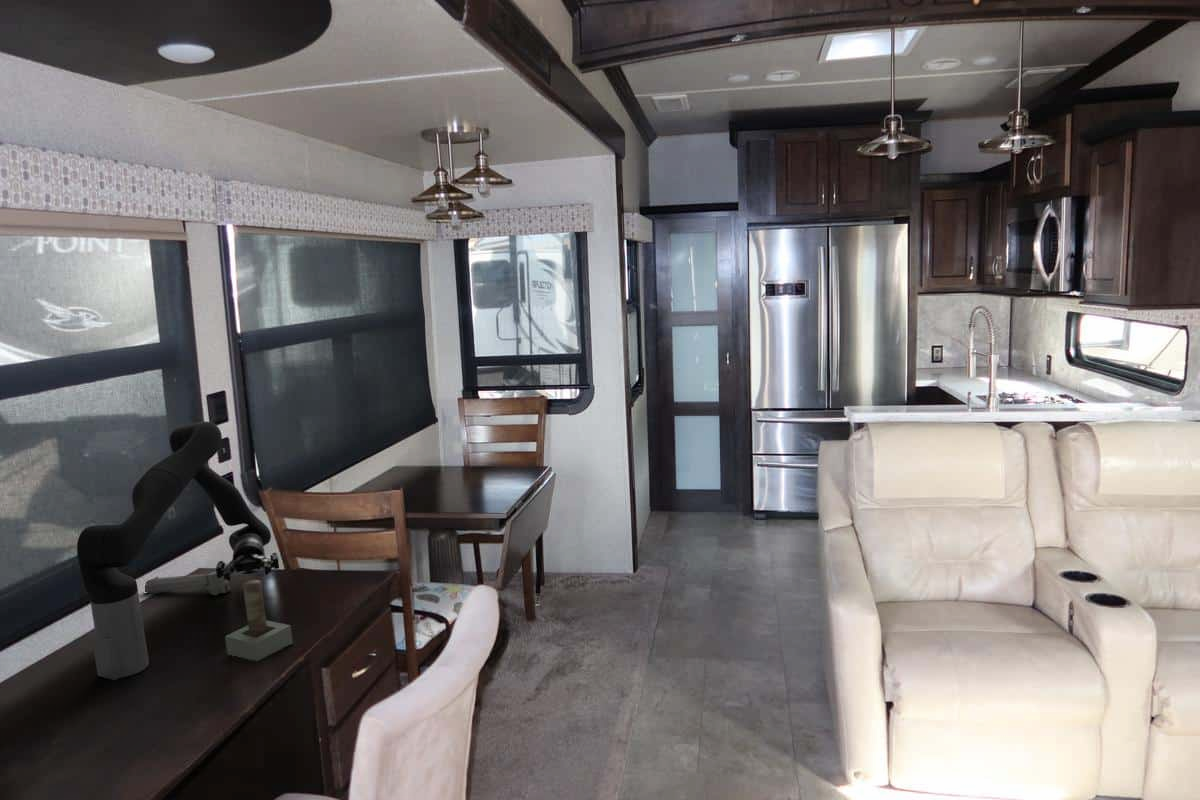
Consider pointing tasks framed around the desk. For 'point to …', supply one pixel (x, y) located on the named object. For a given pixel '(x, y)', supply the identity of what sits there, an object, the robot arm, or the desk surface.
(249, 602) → the peg
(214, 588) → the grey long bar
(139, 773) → the desk surface
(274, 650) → the socket
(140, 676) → the desk surface
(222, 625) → the desk surface
